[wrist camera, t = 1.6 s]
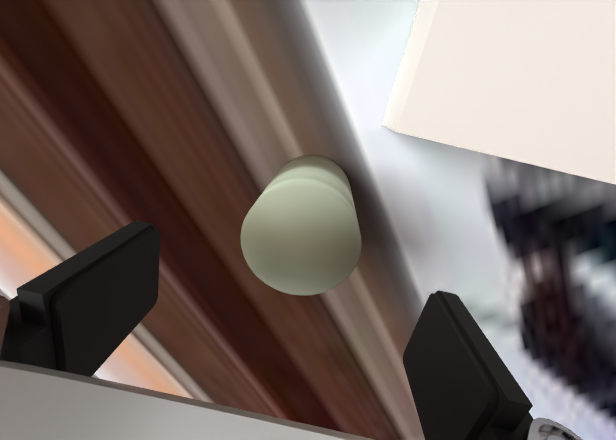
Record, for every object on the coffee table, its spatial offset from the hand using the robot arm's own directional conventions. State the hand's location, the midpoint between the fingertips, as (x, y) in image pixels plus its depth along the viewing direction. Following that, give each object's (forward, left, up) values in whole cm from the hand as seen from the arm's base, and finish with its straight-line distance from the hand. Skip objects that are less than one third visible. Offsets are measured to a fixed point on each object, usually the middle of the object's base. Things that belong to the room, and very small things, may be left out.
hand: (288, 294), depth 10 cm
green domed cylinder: (-1, 0, -10) cm, 10 cm away
